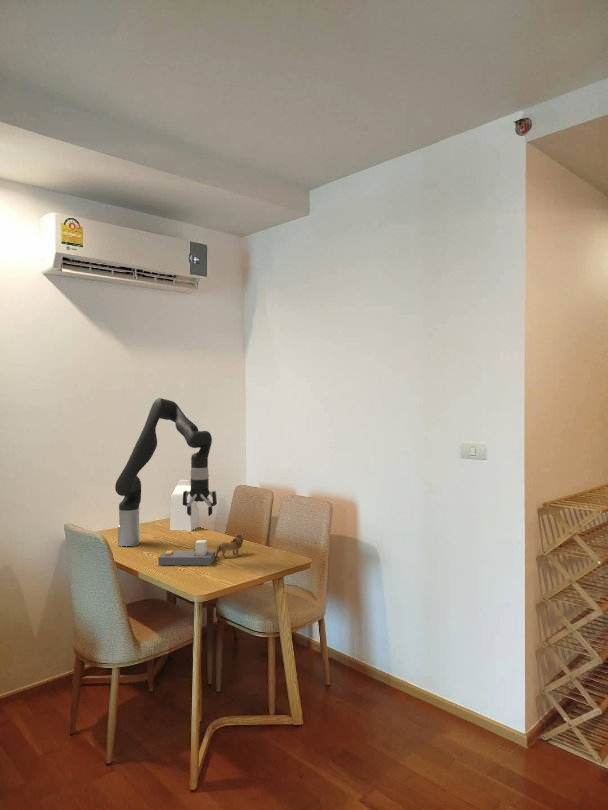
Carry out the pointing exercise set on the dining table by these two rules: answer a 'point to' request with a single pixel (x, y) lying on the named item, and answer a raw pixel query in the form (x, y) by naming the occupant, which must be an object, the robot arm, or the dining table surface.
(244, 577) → the dining table surface
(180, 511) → the milk
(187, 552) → the grey board with slot
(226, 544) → the lion figurine
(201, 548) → the white rectangular block
